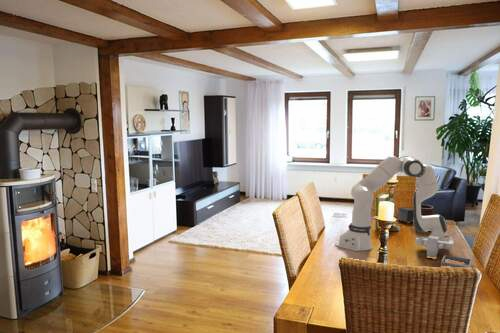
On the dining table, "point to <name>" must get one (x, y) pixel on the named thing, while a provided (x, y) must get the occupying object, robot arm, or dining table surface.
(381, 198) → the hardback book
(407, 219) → the small box
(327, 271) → the dining table surface
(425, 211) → the mate gourd
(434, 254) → the metal block
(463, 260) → the tray
